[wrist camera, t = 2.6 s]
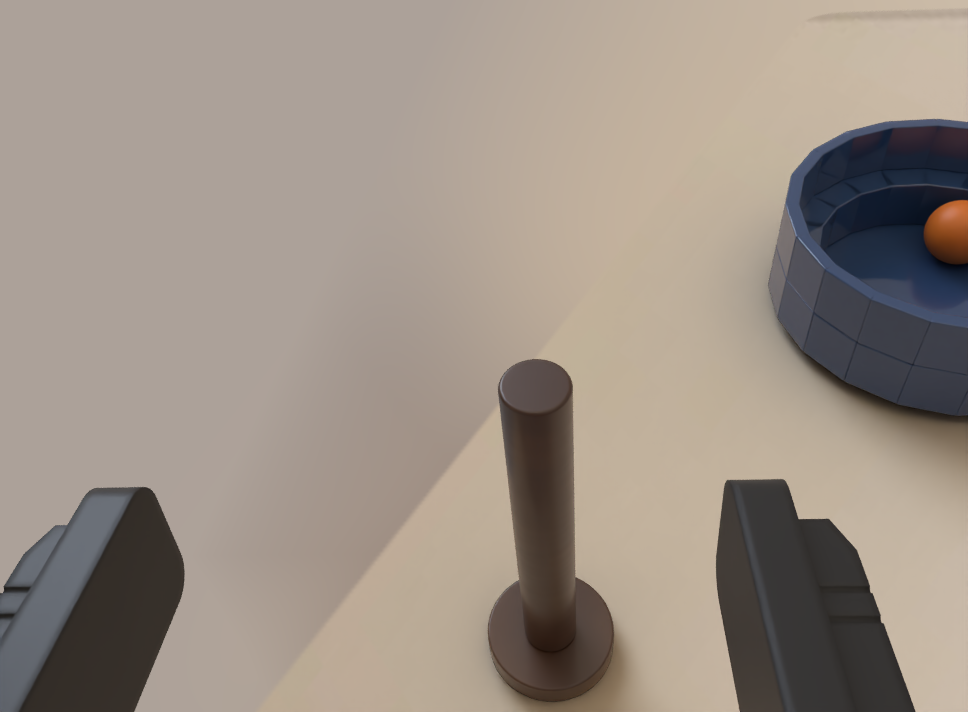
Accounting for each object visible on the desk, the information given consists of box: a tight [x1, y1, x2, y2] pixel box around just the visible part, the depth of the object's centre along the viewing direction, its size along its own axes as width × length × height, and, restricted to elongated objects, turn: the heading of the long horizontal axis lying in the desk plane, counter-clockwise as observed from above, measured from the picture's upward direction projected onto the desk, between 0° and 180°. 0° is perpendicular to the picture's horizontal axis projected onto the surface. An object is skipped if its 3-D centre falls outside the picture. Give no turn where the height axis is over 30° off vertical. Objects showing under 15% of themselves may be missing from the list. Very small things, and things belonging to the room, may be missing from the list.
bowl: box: [768, 119, 968, 416], centre depth 39 cm, size 14×14×6 cm
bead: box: [924, 200, 968, 264], centre depth 41 cm, size 3×3×3 cm
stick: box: [488, 359, 614, 701], centre depth 26 cm, size 4×4×14 cm
